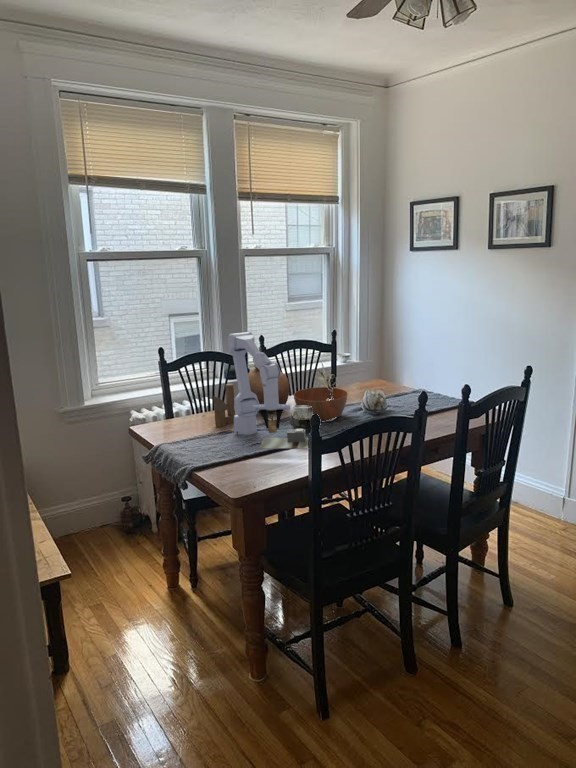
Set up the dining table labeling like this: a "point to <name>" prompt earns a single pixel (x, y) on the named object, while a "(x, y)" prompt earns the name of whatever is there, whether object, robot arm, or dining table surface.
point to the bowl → (322, 401)
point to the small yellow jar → (272, 425)
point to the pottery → (257, 389)
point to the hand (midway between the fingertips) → (272, 427)
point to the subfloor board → (282, 443)
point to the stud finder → (296, 435)
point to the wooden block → (224, 408)
